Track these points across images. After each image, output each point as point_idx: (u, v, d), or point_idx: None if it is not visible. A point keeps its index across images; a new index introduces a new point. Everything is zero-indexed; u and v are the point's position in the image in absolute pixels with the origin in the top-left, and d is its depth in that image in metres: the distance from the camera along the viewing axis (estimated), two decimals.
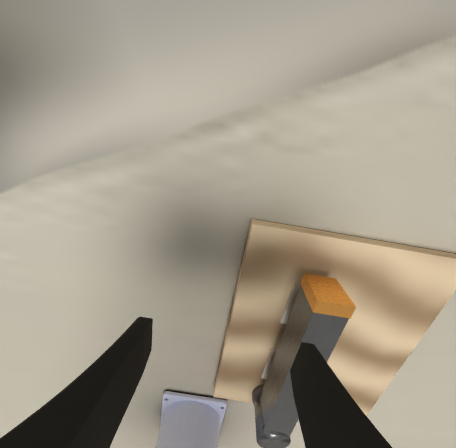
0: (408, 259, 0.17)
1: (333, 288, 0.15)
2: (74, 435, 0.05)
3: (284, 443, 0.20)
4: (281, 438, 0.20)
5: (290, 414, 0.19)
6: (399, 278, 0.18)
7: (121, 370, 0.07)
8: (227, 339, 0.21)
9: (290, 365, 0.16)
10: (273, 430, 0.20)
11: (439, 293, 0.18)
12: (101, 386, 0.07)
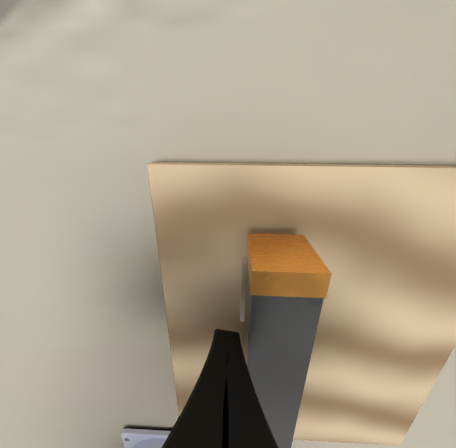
0: (425, 184, 0.10)
1: (293, 248, 0.09)
2: None
3: None
4: None
5: None
6: (415, 221, 0.10)
7: (224, 385, 0.07)
8: (173, 354, 0.14)
9: None
10: None
11: None
12: (216, 403, 0.07)
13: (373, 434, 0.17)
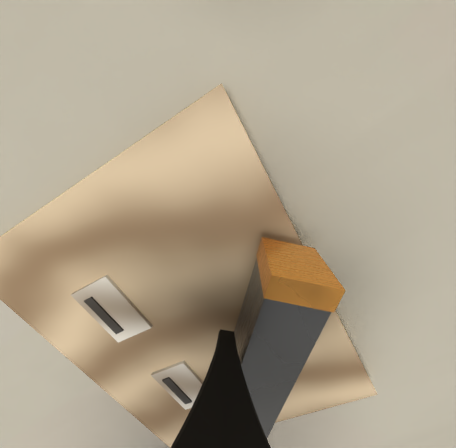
0: (136, 163, 0.10)
1: (307, 260, 0.09)
2: None
3: None
4: None
5: None
6: (161, 195, 0.10)
7: None
8: (103, 388, 0.16)
9: None
10: None
11: (238, 169, 0.10)
12: (223, 404, 0.07)
13: (337, 393, 0.15)
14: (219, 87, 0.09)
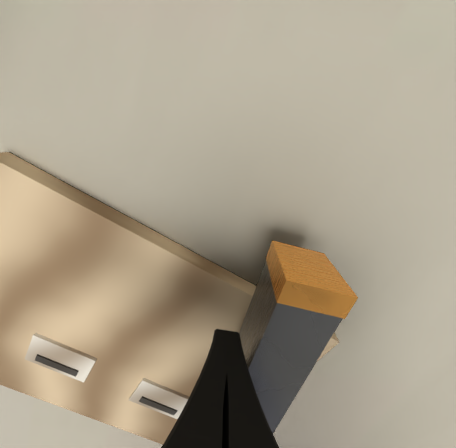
0: None
1: (318, 265, 0.09)
2: None
3: None
4: None
5: None
6: (18, 256, 0.12)
7: (224, 385, 0.07)
8: (107, 423, 0.18)
9: None
10: None
11: (47, 207, 0.11)
12: (216, 404, 0.07)
13: None
14: None
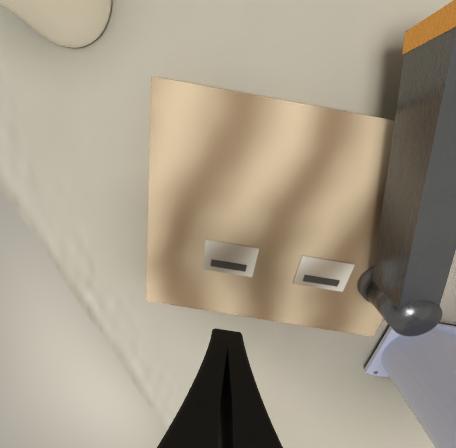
0: (159, 161, 0.15)
1: None
2: None
3: (434, 320, 0.14)
4: (426, 310, 0.14)
5: (437, 261, 0.13)
6: (185, 164, 0.15)
7: (221, 385, 0.07)
8: (277, 320, 0.20)
9: (427, 164, 0.11)
10: (414, 300, 0.14)
11: (202, 105, 0.14)
12: (213, 403, 0.07)
13: None
14: (152, 79, 0.13)
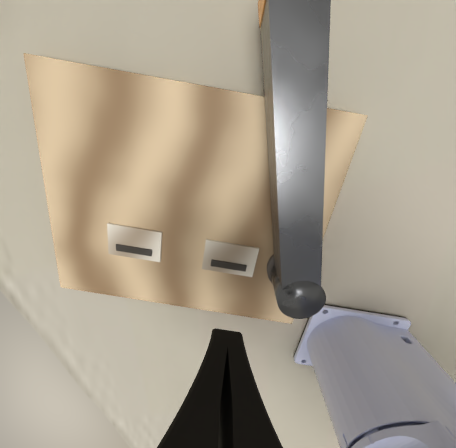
0: (47, 142, 0.15)
1: None
2: None
3: (318, 301, 0.14)
4: (309, 291, 0.14)
5: (307, 240, 0.13)
6: (73, 144, 0.15)
7: (221, 385, 0.07)
8: (194, 307, 0.20)
9: (274, 136, 0.11)
10: (294, 281, 0.14)
11: (79, 83, 0.14)
12: (213, 403, 0.07)
13: (334, 151, 0.14)
14: (25, 56, 0.13)
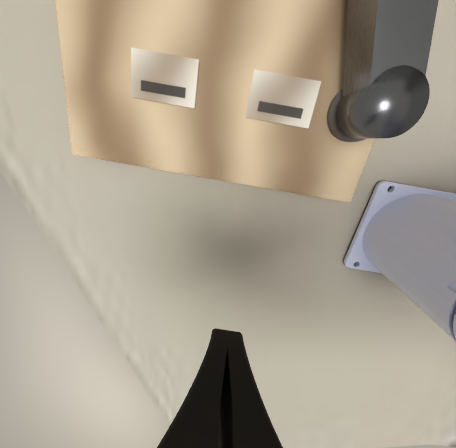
0: None
1: None
2: None
3: (418, 105, 0.11)
4: (408, 86, 0.10)
5: None
6: None
7: (221, 385, 0.07)
8: (231, 180, 0.16)
9: None
10: (390, 66, 0.10)
11: None
12: (213, 403, 0.07)
13: None
14: None
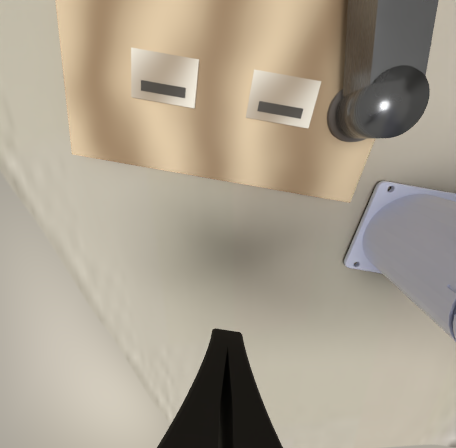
0: None
1: None
2: None
3: (418, 105, 0.11)
4: (408, 86, 0.10)
5: None
6: None
7: (221, 385, 0.07)
8: (231, 180, 0.16)
9: None
10: (390, 66, 0.10)
11: None
12: (213, 403, 0.07)
13: None
14: None
